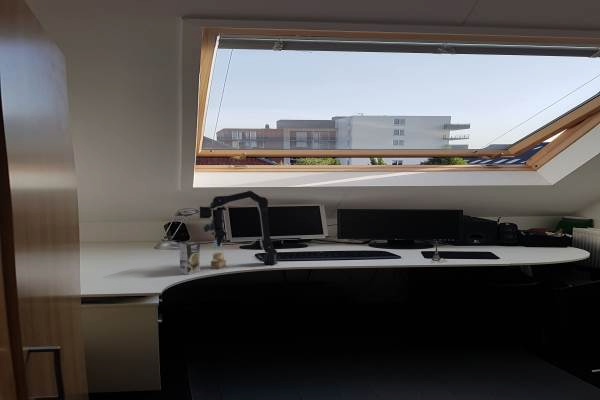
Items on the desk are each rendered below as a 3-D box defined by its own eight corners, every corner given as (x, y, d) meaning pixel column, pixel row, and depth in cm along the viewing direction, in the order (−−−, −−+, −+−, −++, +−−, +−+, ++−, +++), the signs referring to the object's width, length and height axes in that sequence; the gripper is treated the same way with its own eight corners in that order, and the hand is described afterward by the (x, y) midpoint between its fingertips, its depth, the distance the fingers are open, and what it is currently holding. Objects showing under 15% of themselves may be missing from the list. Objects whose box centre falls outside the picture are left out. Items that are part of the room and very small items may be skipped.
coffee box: (188, 274, 230) (188, 244, 229) (179, 273, 233) (179, 243, 232) (200, 271, 238) (200, 241, 237) (191, 269, 241) (191, 240, 240)
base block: (225, 267, 249) (225, 260, 249) (219, 269, 244) (219, 262, 243) (217, 265, 251) (217, 259, 251) (210, 268, 246) (210, 261, 246)
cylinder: (223, 247, 248) (223, 240, 247) (218, 248, 244) (218, 241, 243) (216, 246, 250) (216, 239, 249) (212, 247, 246) (212, 240, 245)
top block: (223, 259, 250) (223, 252, 249) (221, 261, 245) (221, 254, 244) (215, 259, 250) (215, 252, 250) (212, 261, 245) (212, 254, 245)
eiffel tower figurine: (430, 264, 262) (431, 242, 261) (421, 260, 272) (421, 239, 270) (451, 262, 267) (452, 240, 266) (441, 258, 276) (442, 238, 275)
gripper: (200, 216, 251) (200, 243, 252) (206, 220, 234) (206, 249, 235) (220, 216, 255) (220, 242, 256) (226, 220, 238) (226, 248, 239)
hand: (217, 245), depth 247 cm, fingers closed on cylinder, 4 cm apart
